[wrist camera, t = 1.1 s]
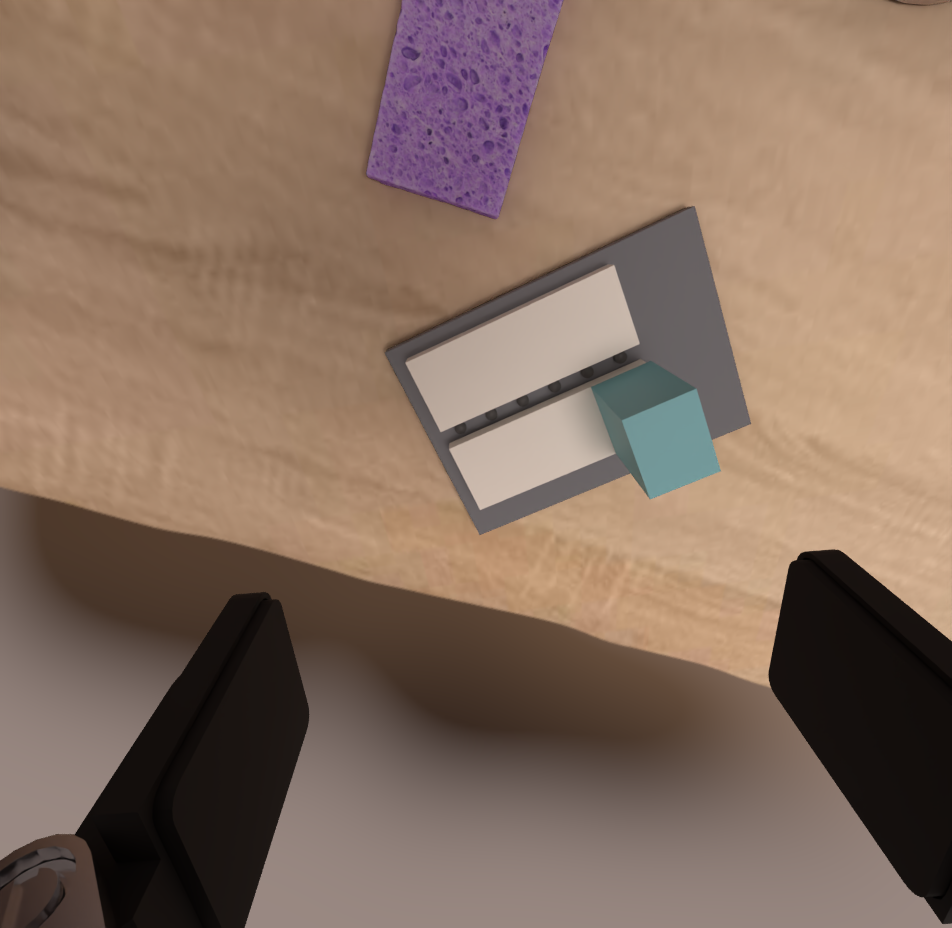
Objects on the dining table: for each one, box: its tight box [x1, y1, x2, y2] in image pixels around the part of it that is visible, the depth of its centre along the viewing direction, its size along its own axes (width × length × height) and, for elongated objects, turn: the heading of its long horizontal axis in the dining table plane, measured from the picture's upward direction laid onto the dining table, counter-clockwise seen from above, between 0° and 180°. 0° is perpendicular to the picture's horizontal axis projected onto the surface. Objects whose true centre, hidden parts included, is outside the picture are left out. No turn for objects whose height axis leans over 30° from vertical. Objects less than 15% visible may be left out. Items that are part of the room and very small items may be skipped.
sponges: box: [366, 0, 563, 219], centre depth 25 cm, size 7×13×2 cm, turn 162°
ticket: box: [405, 264, 640, 434], centre depth 29 cm, size 12×5×1 cm, turn 114°
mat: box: [385, 206, 751, 535], centre depth 31 cm, size 18×13×1 cm
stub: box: [449, 359, 721, 510], centre depth 28 cm, size 12×4×7 cm, turn 114°
